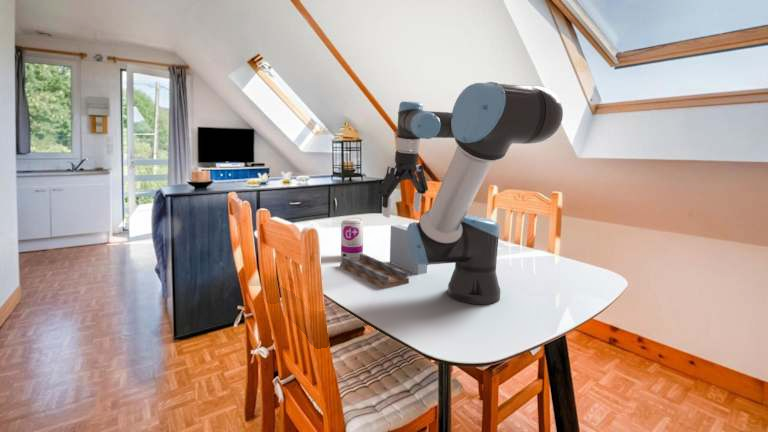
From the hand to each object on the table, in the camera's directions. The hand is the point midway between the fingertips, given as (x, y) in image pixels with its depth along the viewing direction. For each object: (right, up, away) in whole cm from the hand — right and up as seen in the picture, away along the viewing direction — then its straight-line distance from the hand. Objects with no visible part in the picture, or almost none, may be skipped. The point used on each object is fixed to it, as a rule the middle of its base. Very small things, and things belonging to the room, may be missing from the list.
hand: (401, 213), depth 138 cm
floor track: (-10, -20, -2) cm, 23 cm away
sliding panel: (+2, -19, +7) cm, 20 cm away
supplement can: (-18, -17, +16) cm, 30 cm away
